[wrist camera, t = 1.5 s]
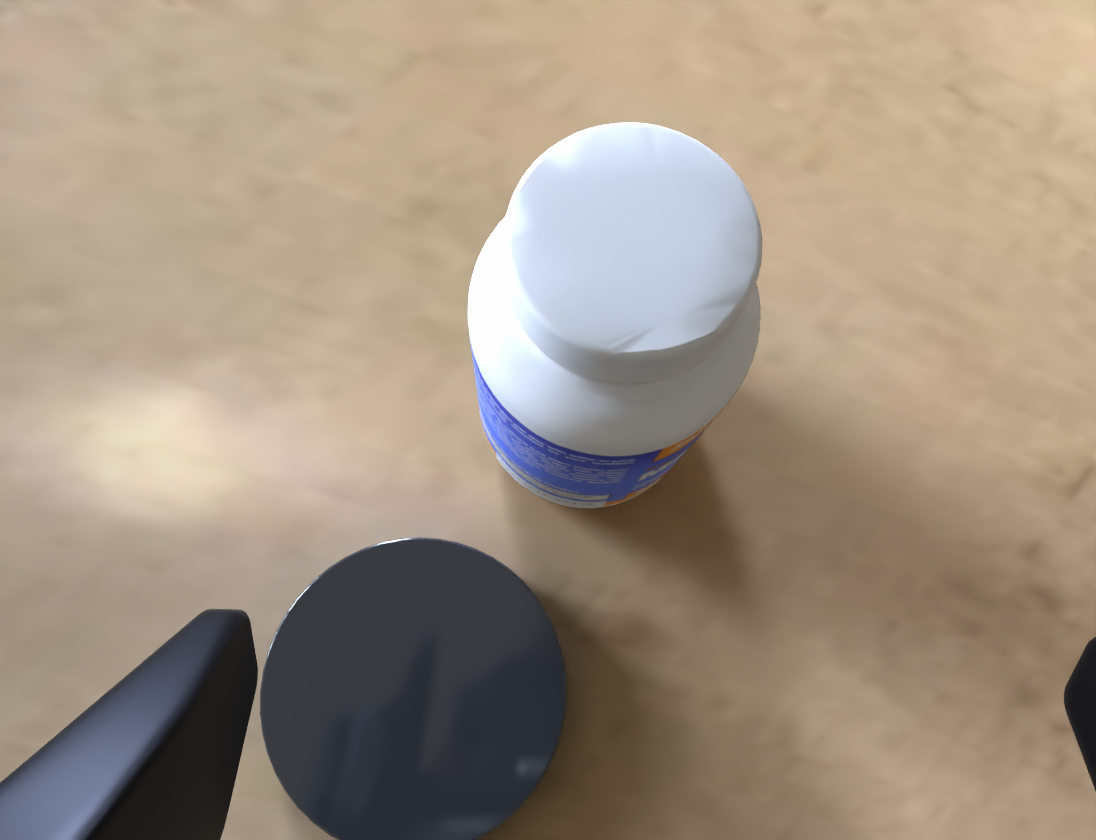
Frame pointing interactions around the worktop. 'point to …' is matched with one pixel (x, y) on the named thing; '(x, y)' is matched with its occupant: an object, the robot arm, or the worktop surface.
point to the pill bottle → (613, 311)
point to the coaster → (413, 694)
